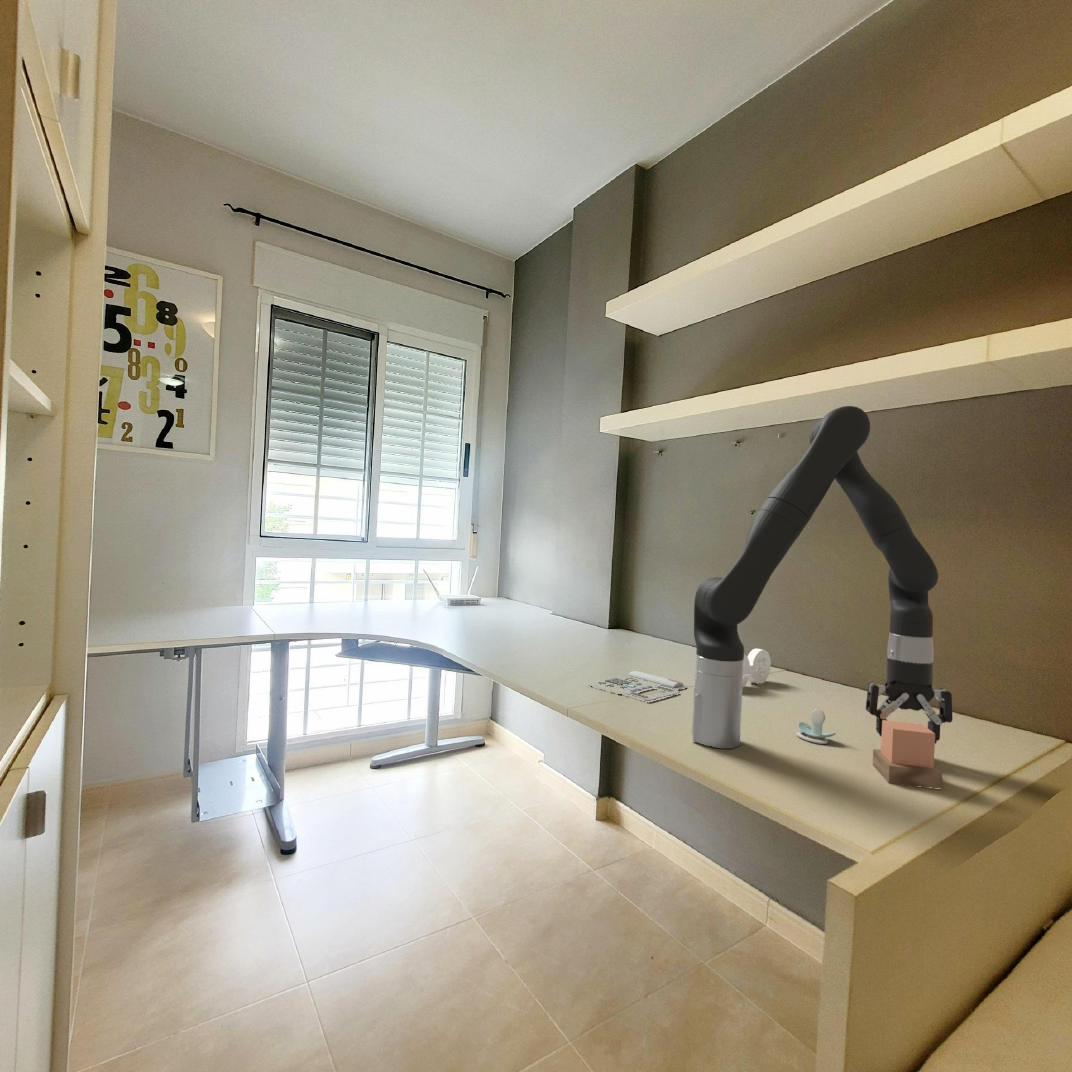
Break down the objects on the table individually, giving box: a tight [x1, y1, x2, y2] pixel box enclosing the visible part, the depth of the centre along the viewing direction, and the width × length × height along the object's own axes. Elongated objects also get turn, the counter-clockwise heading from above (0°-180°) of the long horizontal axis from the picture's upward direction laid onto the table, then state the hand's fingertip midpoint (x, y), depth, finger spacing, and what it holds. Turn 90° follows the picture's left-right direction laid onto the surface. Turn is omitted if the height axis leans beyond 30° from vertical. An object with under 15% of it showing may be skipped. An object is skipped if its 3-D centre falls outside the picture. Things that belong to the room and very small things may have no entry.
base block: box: [872, 748, 943, 789], centre depth 98 cm, size 8×8×3 cm
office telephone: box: [595, 670, 688, 701], centre depth 150 cm, size 23×3×20 cm
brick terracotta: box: [880, 719, 936, 768], centre depth 98 cm, size 6×5×6 cm
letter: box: [743, 648, 772, 688], centre depth 157 cm, size 22×2×10 cm, turn 129°
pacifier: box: [796, 708, 836, 745], centre depth 115 cm, size 7×6×6 cm
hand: (907, 739), depth 108 cm, fingers open, 8 cm apart
